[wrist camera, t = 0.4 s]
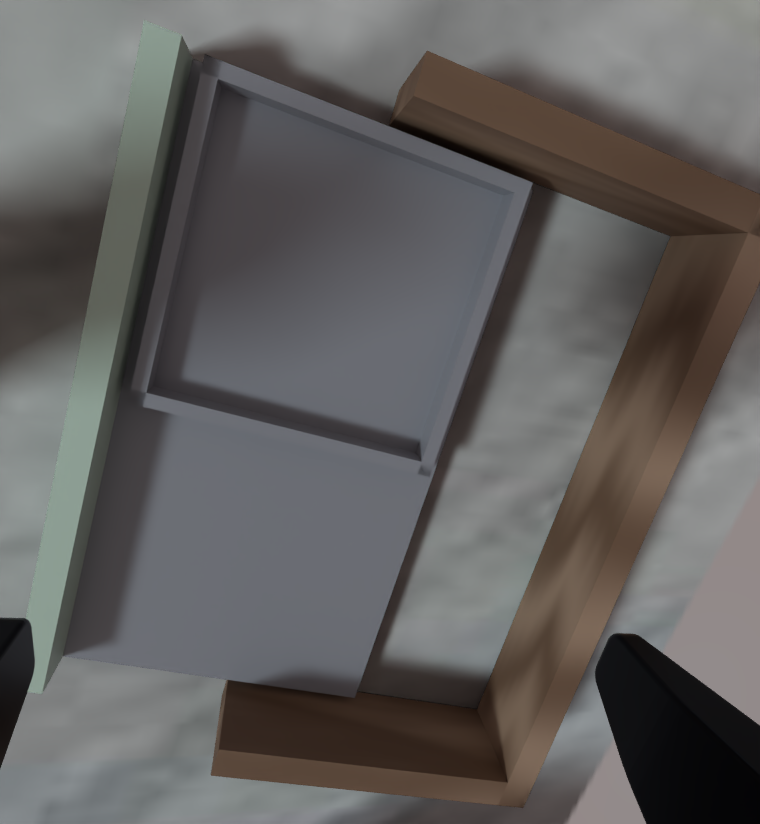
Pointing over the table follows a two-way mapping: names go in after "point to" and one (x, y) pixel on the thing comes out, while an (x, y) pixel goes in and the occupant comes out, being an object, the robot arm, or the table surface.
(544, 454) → the table surface
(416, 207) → the tray
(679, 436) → the dock
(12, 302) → the table surface
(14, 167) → the table surface
